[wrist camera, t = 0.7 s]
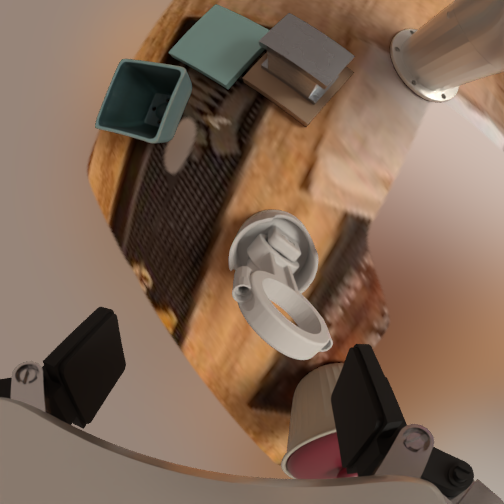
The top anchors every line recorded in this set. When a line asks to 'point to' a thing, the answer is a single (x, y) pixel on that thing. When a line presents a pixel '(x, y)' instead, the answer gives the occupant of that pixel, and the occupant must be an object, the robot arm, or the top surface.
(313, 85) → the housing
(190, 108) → the top surface
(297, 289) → the engine component
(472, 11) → the robot arm
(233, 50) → the stand
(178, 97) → the flower pot
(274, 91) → the stand
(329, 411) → the canister
